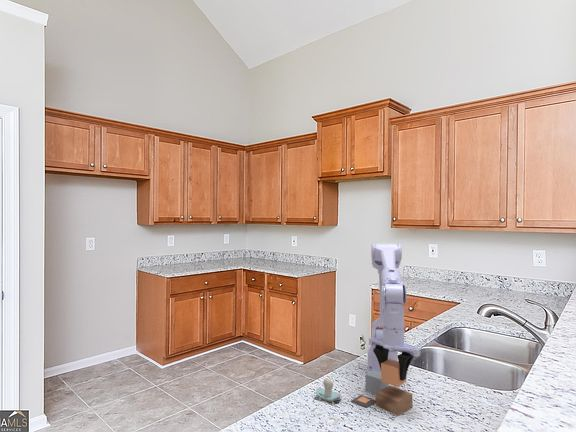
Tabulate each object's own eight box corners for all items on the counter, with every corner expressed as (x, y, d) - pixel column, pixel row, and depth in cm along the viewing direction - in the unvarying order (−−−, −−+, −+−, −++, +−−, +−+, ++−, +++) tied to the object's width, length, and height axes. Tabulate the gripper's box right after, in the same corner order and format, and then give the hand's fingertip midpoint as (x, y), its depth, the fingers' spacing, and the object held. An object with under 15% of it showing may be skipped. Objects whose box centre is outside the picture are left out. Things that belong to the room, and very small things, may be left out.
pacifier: (322, 392, 108) (313, 399, 103) (323, 370, 108) (314, 377, 103) (345, 398, 104) (337, 406, 99) (345, 376, 105) (337, 383, 99)
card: (351, 401, 101) (351, 399, 101) (361, 396, 105) (361, 394, 105) (366, 408, 98) (366, 405, 98) (376, 401, 102) (376, 399, 102)
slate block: (365, 391, 109) (365, 374, 109) (374, 386, 112) (374, 369, 112) (380, 396, 105) (380, 379, 105) (388, 391, 109) (388, 374, 109)
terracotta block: (381, 381, 100) (381, 363, 100) (389, 376, 103) (389, 358, 104) (397, 387, 96) (397, 368, 96) (406, 381, 100) (406, 363, 100)
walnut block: (375, 406, 99) (375, 392, 99) (390, 399, 104) (390, 385, 104) (398, 417, 94) (398, 401, 94) (412, 408, 99) (412, 393, 99)
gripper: (363, 324, 102) (363, 372, 102) (411, 335, 92) (412, 389, 92) (376, 320, 107) (375, 366, 107) (423, 330, 97) (423, 381, 97)
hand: (393, 376), depth 100 cm, fingers closed on terracotta block, 5 cm apart
